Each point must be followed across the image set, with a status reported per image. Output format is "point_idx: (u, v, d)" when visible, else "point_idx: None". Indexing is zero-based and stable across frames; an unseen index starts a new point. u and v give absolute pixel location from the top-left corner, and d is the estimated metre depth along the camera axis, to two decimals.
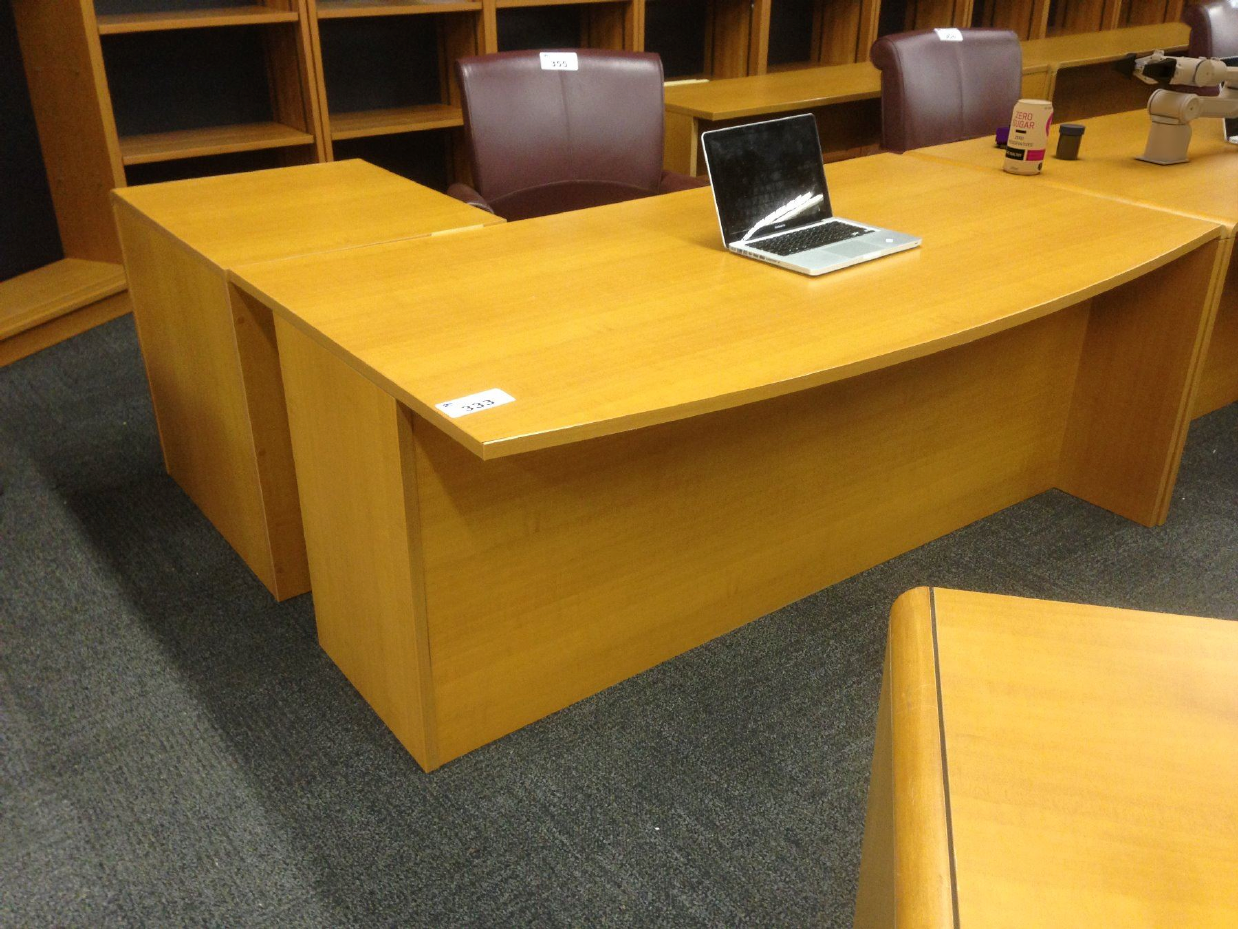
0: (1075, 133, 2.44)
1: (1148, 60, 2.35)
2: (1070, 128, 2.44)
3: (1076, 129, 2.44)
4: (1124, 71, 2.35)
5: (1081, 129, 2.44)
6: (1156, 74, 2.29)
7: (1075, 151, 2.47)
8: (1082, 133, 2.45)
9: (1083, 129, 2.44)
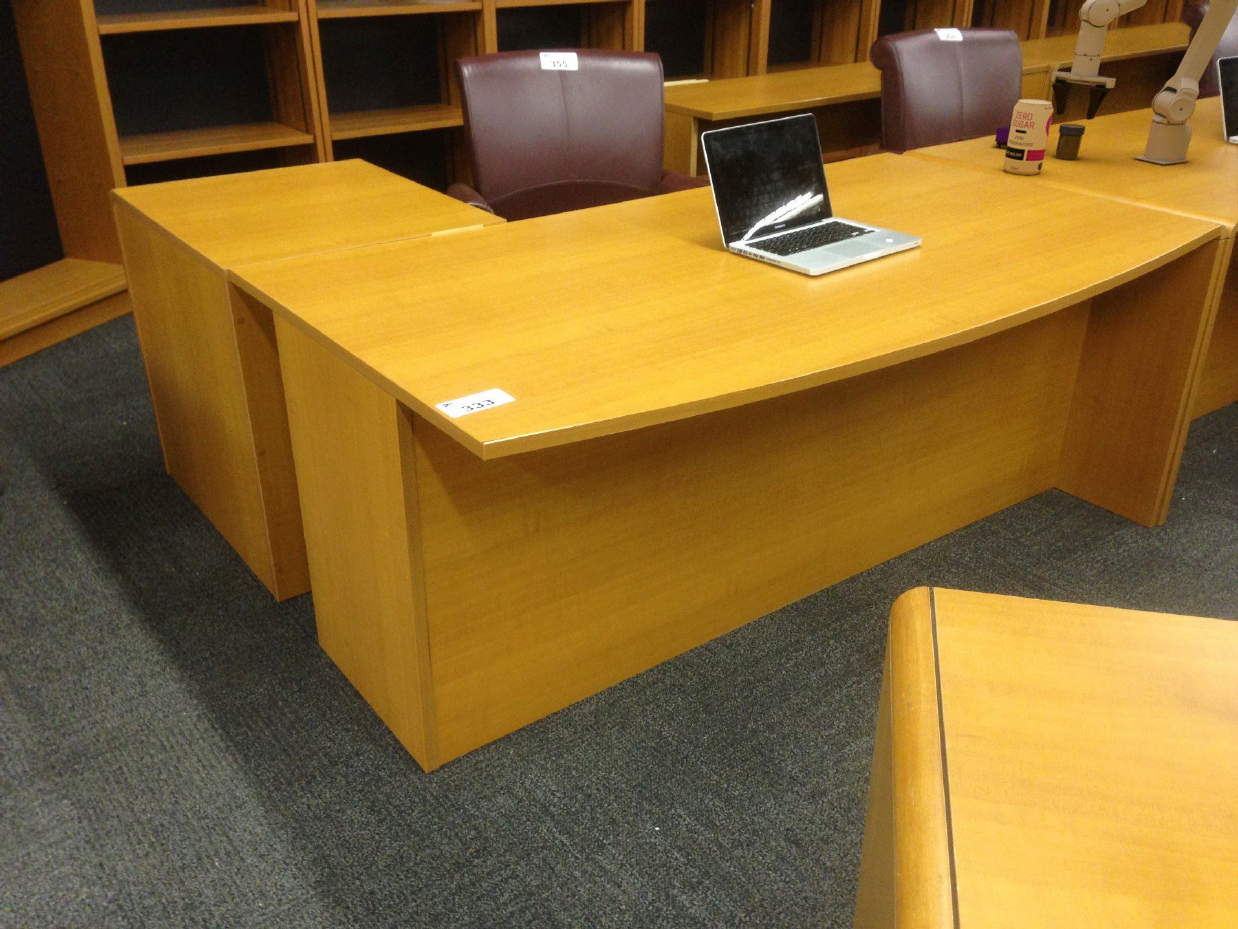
0: (1075, 133, 2.44)
1: None
2: (1070, 128, 2.44)
3: (1076, 129, 2.44)
4: (1066, 96, 2.46)
5: (1081, 129, 2.44)
6: (1097, 101, 2.41)
7: (1075, 151, 2.47)
8: (1082, 133, 2.45)
9: (1083, 129, 2.44)
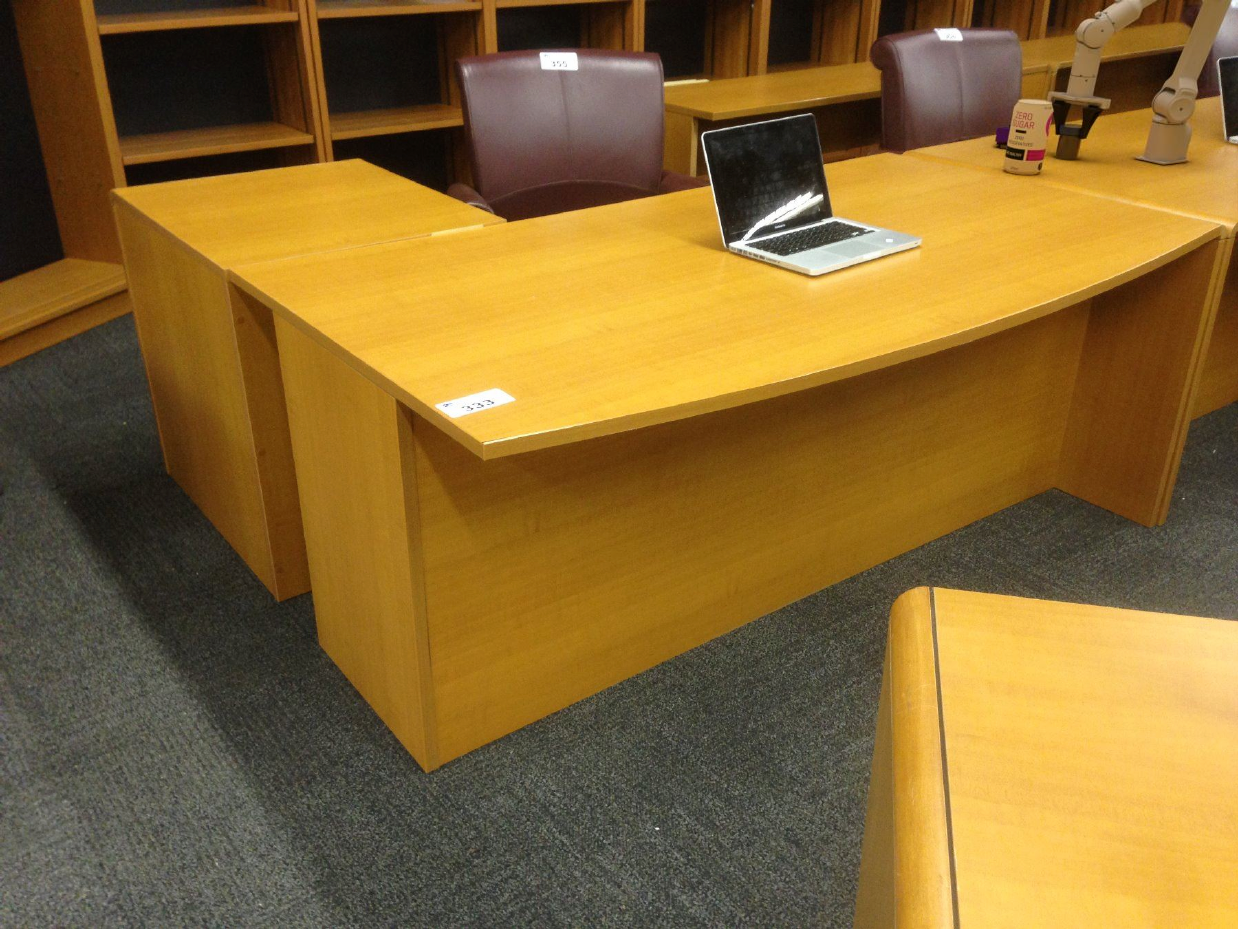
0: (1075, 133, 2.44)
1: None
2: (1070, 128, 2.44)
3: (1076, 129, 2.44)
4: (1065, 116, 2.48)
5: None
6: (1090, 121, 2.44)
7: (1075, 151, 2.47)
8: None
9: None
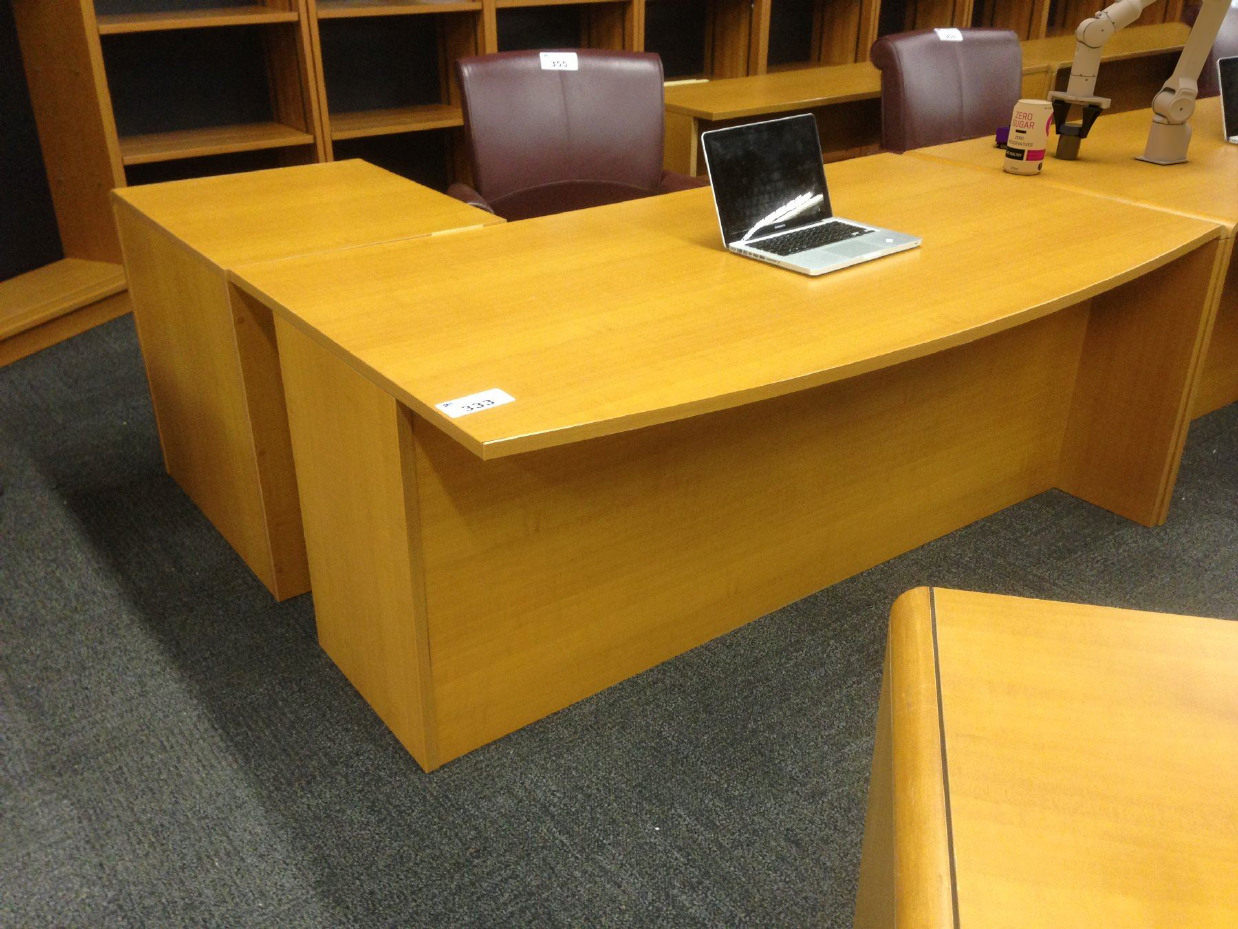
0: None
1: None
2: None
3: None
4: (1065, 116, 2.48)
5: None
6: (1090, 121, 2.44)
7: (1076, 151, 2.47)
8: None
9: None
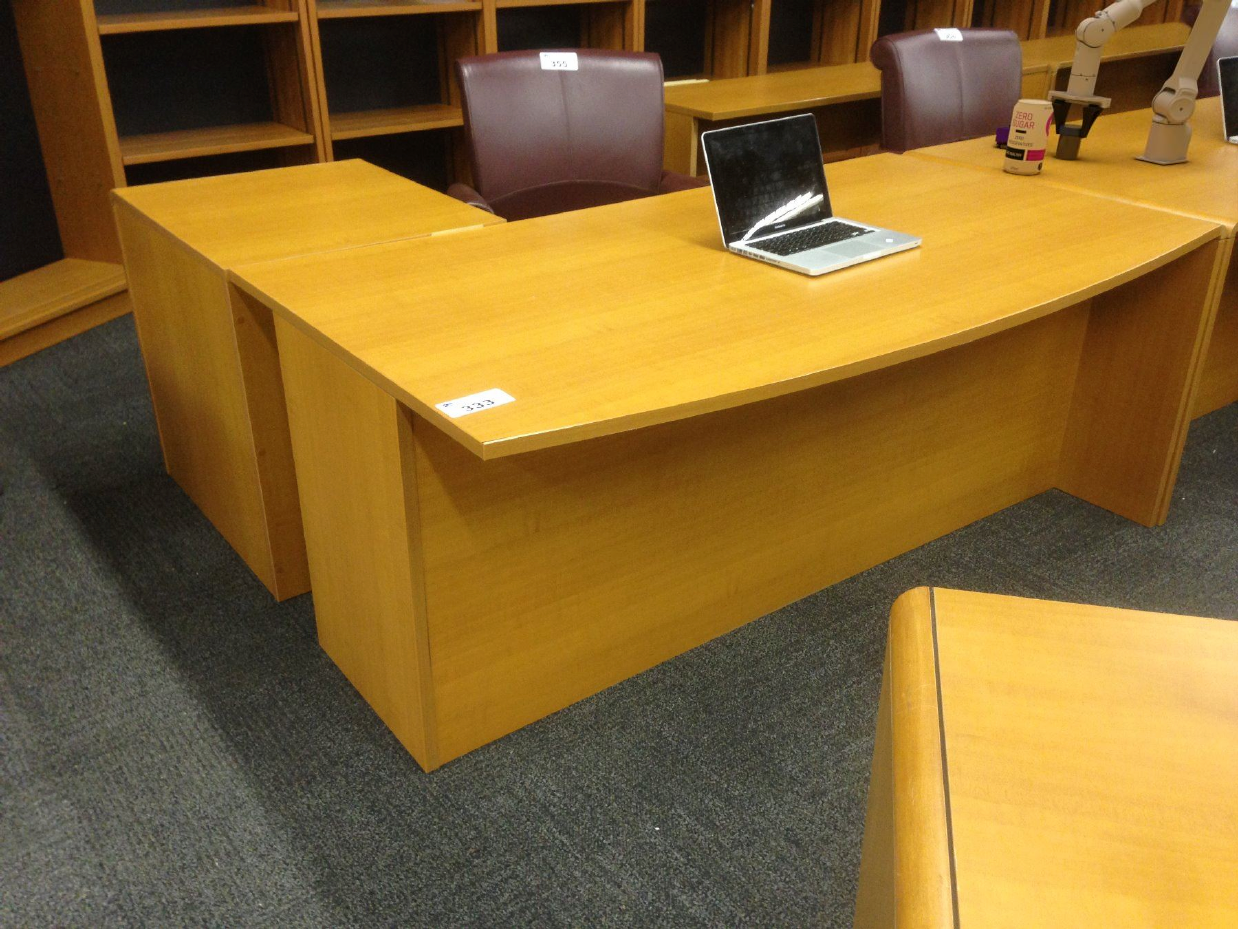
0: None
1: None
2: None
3: None
4: (1065, 116, 2.48)
5: None
6: (1090, 120, 2.43)
7: (1076, 151, 2.47)
8: None
9: None
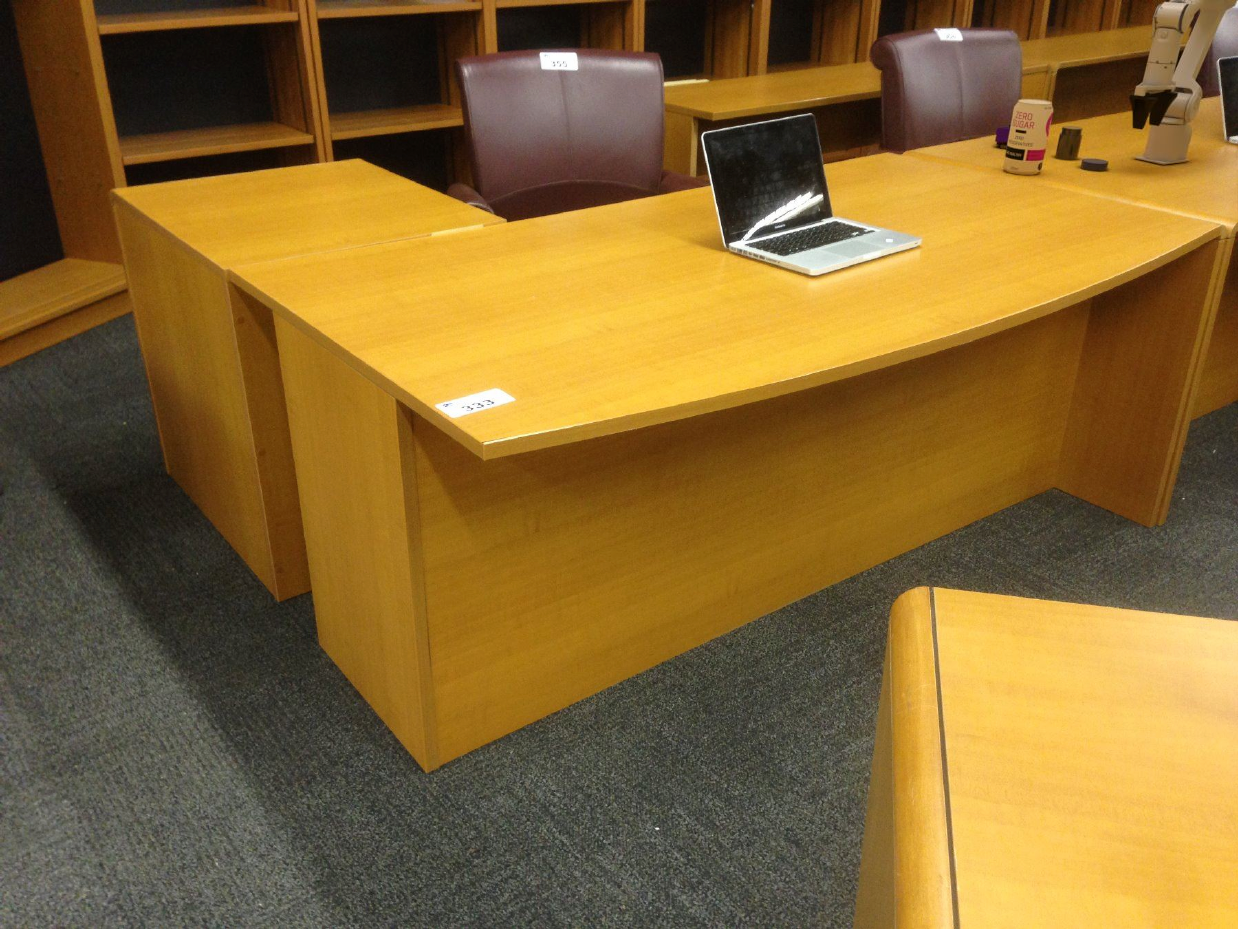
0: None
1: None
2: None
3: None
4: None
5: None
6: None
7: (1076, 151, 2.47)
8: (1081, 166, 2.39)
9: (1083, 162, 2.39)
